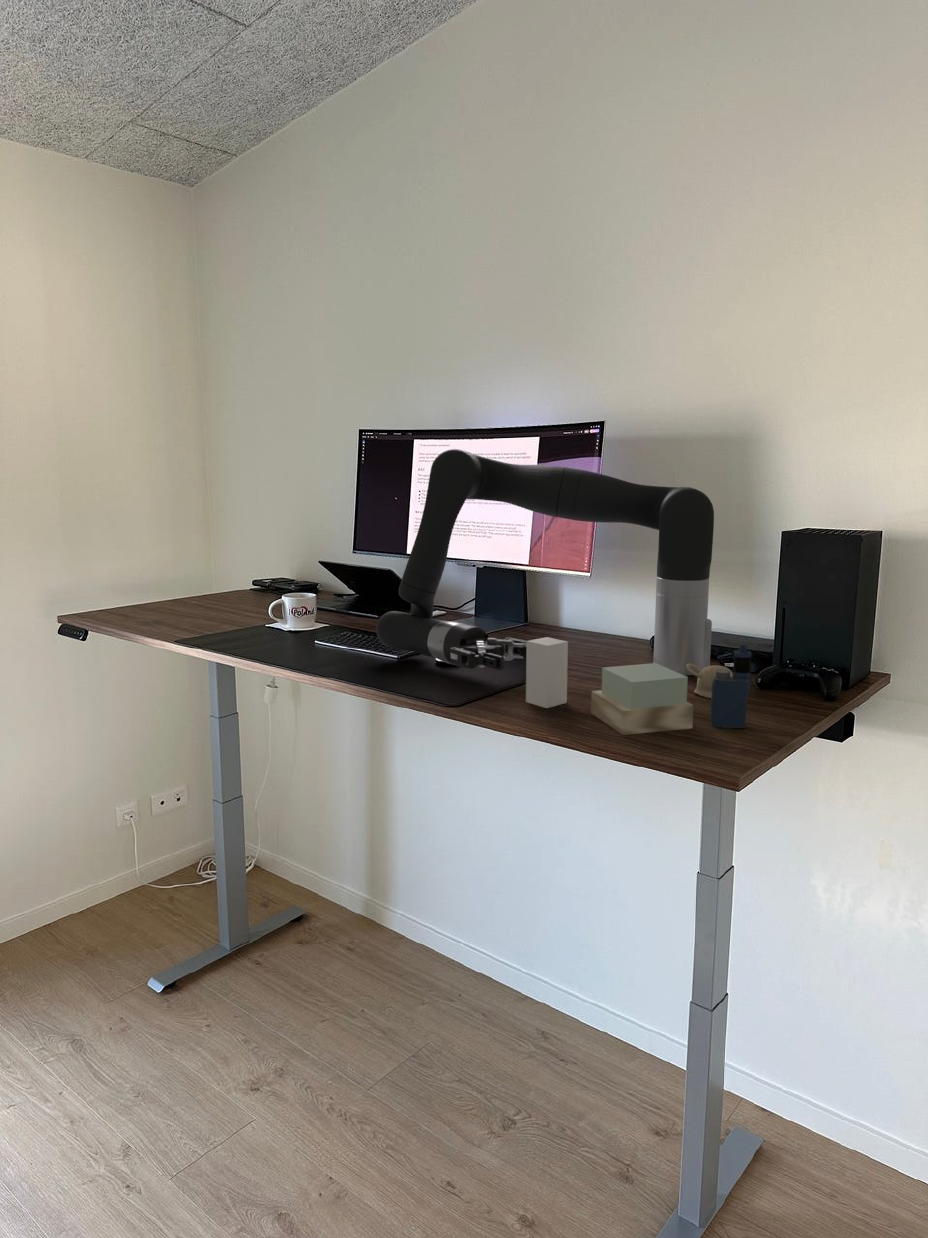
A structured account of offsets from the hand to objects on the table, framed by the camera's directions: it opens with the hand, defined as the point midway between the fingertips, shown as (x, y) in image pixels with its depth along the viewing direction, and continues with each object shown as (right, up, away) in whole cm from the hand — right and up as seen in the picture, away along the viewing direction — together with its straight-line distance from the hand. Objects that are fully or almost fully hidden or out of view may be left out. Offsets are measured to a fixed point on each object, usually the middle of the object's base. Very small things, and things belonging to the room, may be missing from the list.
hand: (521, 659), depth 139 cm
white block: (+4, -7, -3) cm, 8 cm away
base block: (+17, -9, -13) cm, 23 cm away
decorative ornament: (+31, -6, 0) cm, 32 cm away
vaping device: (+29, -9, -16) cm, 34 cm away
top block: (+17, -5, -14) cm, 23 cm away
